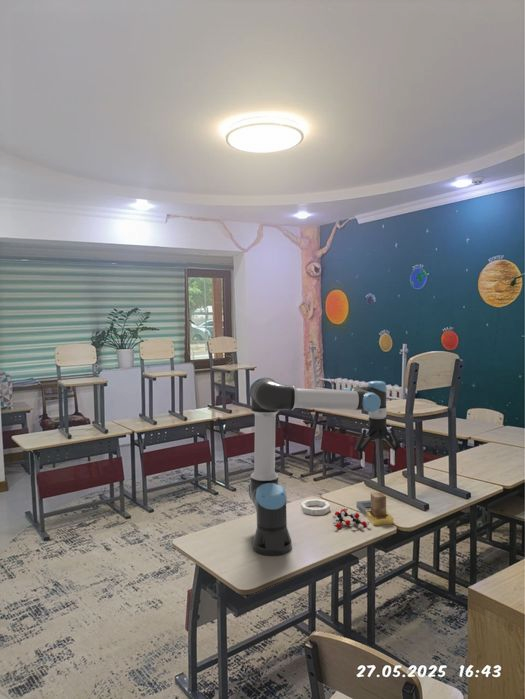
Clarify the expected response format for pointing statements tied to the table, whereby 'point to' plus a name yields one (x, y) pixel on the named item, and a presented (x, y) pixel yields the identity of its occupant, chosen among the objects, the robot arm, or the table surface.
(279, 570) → the table surface
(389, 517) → the yellow grey tray
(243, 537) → the table surface
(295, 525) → the table surface
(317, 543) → the table surface
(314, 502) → the white ring
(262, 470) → the robot arm
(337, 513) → the molecular model
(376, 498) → the walnut peg
